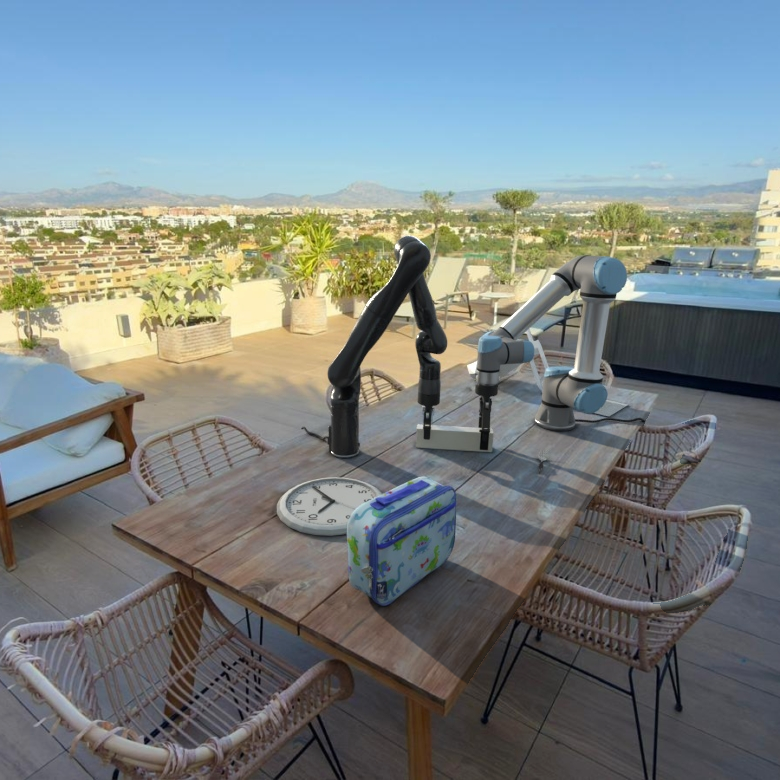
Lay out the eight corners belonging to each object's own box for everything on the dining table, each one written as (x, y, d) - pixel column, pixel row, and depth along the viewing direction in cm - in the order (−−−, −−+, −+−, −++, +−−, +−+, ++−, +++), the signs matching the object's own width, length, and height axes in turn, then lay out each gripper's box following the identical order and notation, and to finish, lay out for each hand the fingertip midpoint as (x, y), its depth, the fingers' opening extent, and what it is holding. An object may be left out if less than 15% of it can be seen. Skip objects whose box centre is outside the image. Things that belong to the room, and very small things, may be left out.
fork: (534, 474, 163) (535, 468, 162) (539, 454, 177) (539, 449, 176) (543, 475, 162) (544, 469, 161) (547, 455, 176) (547, 450, 175)
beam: (491, 447, 183) (492, 428, 180) (492, 452, 178) (493, 433, 176) (416, 442, 185) (417, 424, 183) (416, 447, 181) (416, 428, 179)
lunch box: (376, 619, 101) (377, 524, 95) (340, 592, 109) (339, 502, 102) (459, 562, 119) (465, 479, 113) (424, 542, 126) (427, 463, 120)
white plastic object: (488, 421, 262) (468, 398, 237) (469, 348, 284) (449, 320, 260) (560, 397, 250) (547, 371, 225) (534, 322, 272) (520, 291, 247)
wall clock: (392, 527, 129) (268, 531, 127) (391, 533, 130) (269, 537, 127) (383, 473, 158) (282, 475, 155) (383, 478, 158) (282, 480, 156)
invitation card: (608, 416, 214) (573, 407, 224) (608, 416, 214) (573, 408, 224) (628, 404, 229) (594, 396, 238) (628, 405, 229) (594, 397, 238)
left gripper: (419, 383, 184) (417, 426, 189) (416, 395, 171) (415, 441, 175) (440, 384, 183) (438, 427, 188) (439, 397, 170) (437, 443, 175)
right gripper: (474, 372, 186) (470, 427, 192) (477, 393, 162) (472, 456, 169) (495, 373, 185) (491, 429, 191) (501, 394, 162) (496, 457, 168)
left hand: (427, 434), depth 182 cm, fingers open, 8 cm apart
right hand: (482, 441), depth 180 cm, fingers open, 13 cm apart
